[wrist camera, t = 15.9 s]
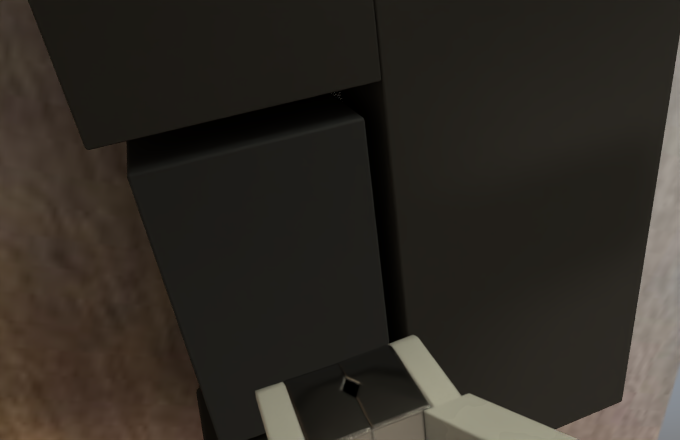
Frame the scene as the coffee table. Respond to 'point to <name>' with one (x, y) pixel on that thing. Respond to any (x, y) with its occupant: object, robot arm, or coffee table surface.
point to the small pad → (264, 247)
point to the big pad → (435, 155)
